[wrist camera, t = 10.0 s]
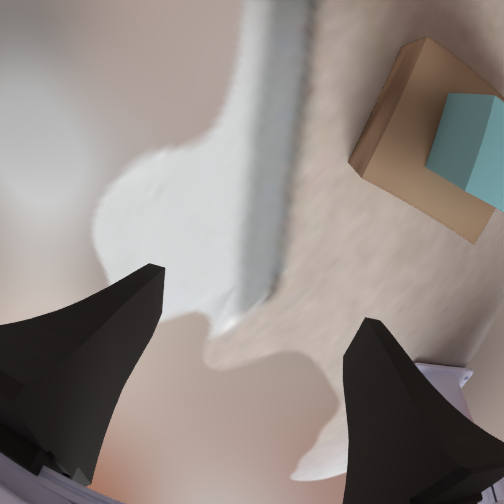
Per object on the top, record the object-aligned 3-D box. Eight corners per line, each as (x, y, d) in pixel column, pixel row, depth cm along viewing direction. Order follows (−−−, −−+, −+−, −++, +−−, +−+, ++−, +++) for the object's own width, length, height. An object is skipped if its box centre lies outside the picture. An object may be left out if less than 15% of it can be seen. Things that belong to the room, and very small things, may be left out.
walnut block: (446, 218, 18) (474, 244, 14) (347, 161, 17) (361, 178, 14) (496, 118, 14) (532, 127, 11) (400, 47, 13) (427, 36, 10)
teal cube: (481, 195, 13) (524, 224, 9) (424, 167, 13) (464, 191, 9) (504, 128, 11) (552, 143, 8) (448, 93, 11) (494, 95, 8)
